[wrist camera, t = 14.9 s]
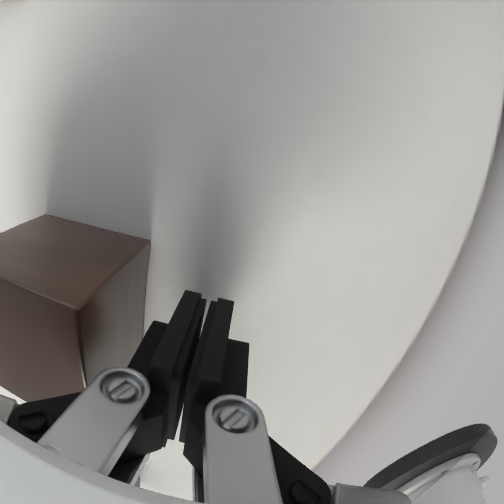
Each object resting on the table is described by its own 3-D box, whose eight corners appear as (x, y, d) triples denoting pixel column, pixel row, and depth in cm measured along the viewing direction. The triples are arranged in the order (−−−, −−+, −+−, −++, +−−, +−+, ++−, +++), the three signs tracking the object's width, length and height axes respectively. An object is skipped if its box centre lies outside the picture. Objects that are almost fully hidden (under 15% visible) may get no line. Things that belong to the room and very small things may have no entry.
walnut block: (151, 239, 10) (77, 308, 5) (142, 349, 12) (98, 437, 7) (45, 213, 10) (-45, 253, 5) (50, 316, 11) (-12, 378, 7)
